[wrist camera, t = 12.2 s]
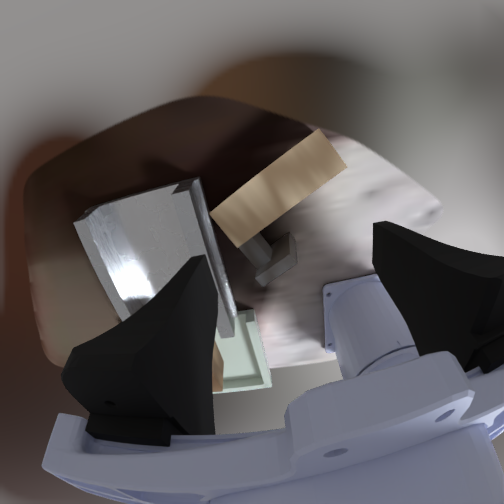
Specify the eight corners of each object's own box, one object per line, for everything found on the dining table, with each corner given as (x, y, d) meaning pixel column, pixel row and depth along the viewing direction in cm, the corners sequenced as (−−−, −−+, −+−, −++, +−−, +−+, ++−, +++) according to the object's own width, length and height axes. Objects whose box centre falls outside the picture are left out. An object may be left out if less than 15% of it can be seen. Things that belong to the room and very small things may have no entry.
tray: (271, 375, 32) (272, 386, 30) (170, 385, 33) (168, 395, 31) (254, 308, 27) (254, 321, 25) (131, 325, 27) (126, 336, 26)
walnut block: (223, 361, 30) (222, 391, 26) (189, 364, 30) (185, 393, 26) (213, 337, 28) (211, 368, 24) (176, 341, 28) (170, 371, 24)
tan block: (267, 259, 24) (357, 195, 21) (262, 287, 19) (377, 206, 16) (222, 203, 23) (312, 133, 20) (204, 217, 18) (320, 126, 15)
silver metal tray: (238, 311, 27) (237, 336, 24) (143, 323, 27) (135, 347, 24) (200, 176, 20) (193, 189, 17) (89, 207, 21) (70, 223, 18)
